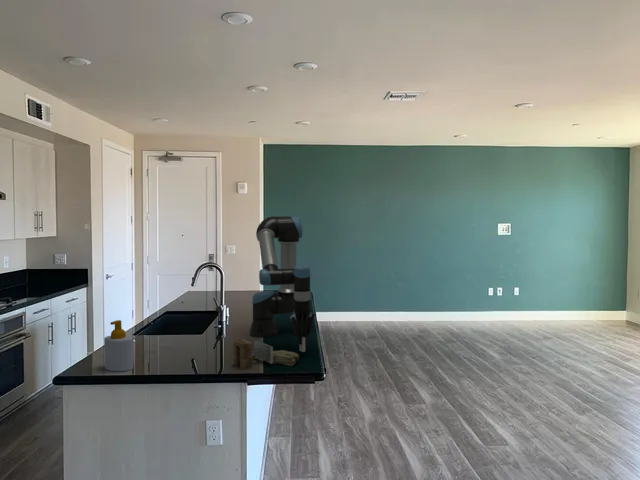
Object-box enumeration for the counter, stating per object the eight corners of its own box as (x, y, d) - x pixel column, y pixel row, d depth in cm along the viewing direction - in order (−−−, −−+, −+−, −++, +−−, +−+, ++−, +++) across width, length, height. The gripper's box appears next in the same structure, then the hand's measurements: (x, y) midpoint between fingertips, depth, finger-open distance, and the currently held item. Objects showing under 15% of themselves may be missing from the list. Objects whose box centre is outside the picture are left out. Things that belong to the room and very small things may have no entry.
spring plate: (256, 355, 206) (256, 339, 205) (272, 362, 194) (272, 346, 194) (236, 359, 200) (236, 343, 199) (251, 367, 188) (251, 350, 188)
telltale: (254, 358, 205) (254, 348, 205) (255, 358, 204) (255, 349, 204) (251, 359, 204) (251, 349, 204) (252, 359, 203) (252, 350, 203)
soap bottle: (99, 369, 191) (98, 321, 190) (114, 363, 199) (113, 317, 198) (123, 373, 186) (122, 324, 186) (138, 367, 194) (137, 320, 193)
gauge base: (254, 357, 208) (254, 334, 207) (268, 363, 198) (268, 339, 198) (230, 362, 200) (229, 338, 200) (242, 369, 191) (242, 344, 190)
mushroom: (264, 364, 198) (263, 352, 197) (274, 358, 207) (274, 346, 206) (294, 368, 192) (293, 356, 192) (303, 362, 201) (303, 350, 201)
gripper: (308, 297, 215) (309, 346, 216) (285, 300, 207) (285, 351, 208) (318, 299, 209) (318, 350, 210) (294, 302, 201) (295, 355, 202)
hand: (302, 350), depth 209 cm, fingers closed
